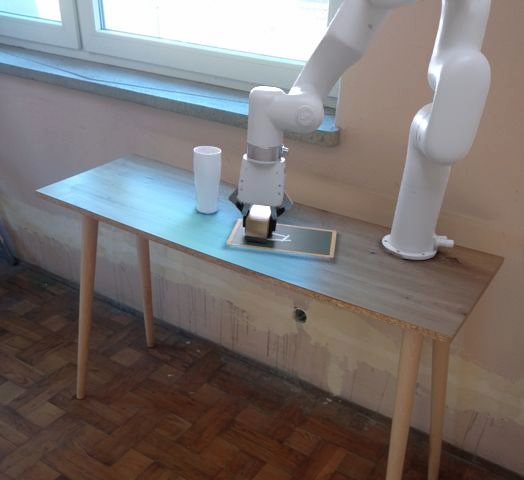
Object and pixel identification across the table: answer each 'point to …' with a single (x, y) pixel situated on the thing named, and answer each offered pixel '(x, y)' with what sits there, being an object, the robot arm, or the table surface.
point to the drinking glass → (207, 177)
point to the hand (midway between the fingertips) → (258, 231)
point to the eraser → (258, 224)
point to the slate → (290, 240)
